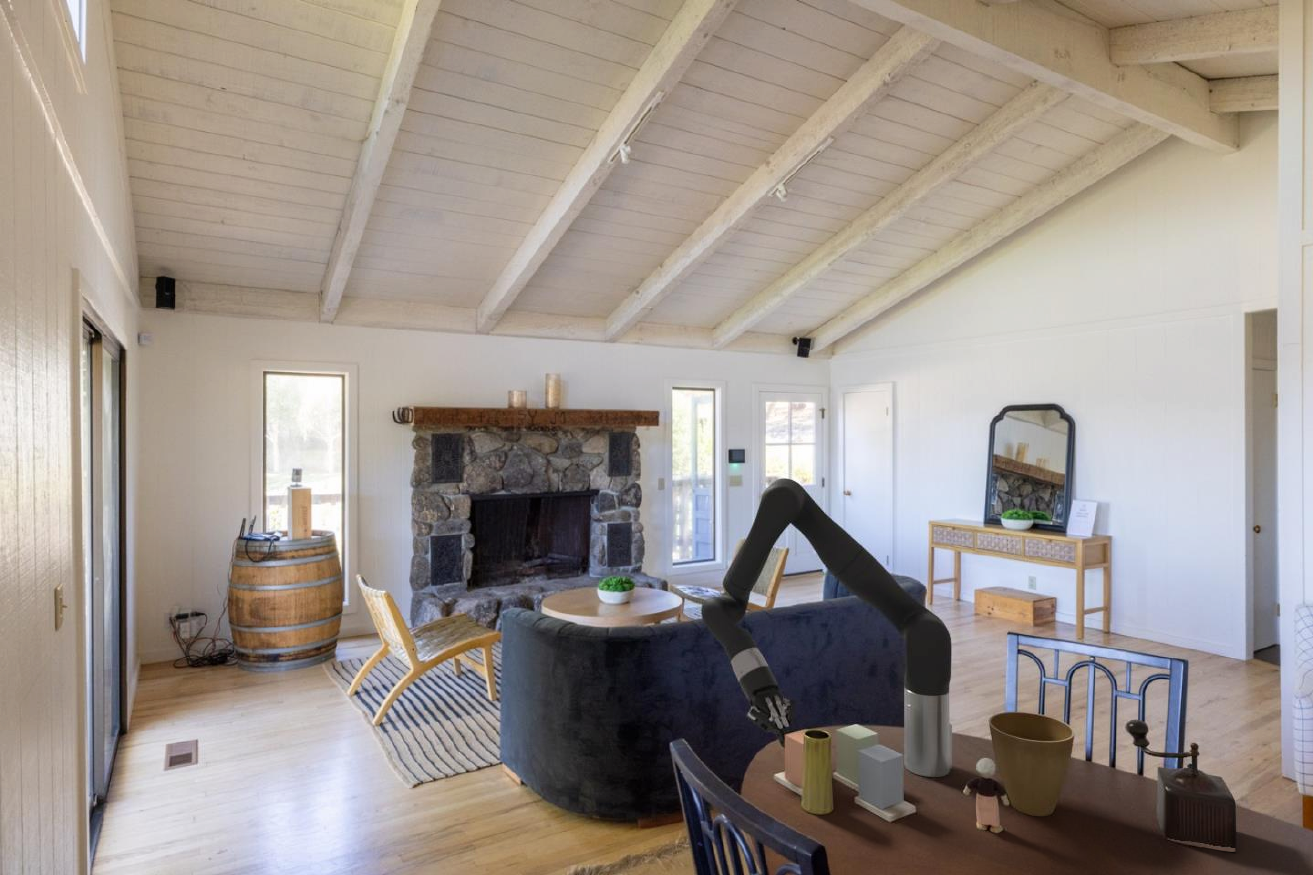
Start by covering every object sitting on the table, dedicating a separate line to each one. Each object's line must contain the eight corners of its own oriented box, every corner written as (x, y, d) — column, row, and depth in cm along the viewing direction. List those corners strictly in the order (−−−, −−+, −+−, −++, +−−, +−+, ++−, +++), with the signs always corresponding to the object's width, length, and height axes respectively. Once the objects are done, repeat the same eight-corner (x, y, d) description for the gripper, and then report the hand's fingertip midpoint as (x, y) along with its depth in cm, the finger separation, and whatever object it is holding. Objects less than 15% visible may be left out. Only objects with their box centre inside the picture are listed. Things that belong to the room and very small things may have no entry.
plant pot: (997, 782, 157) (997, 705, 157) (1079, 802, 148) (1078, 721, 148) (981, 812, 144) (981, 728, 144) (1069, 835, 136) (1069, 747, 136)
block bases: (836, 759, 168) (836, 755, 168) (929, 806, 147) (929, 801, 147) (773, 779, 158) (773, 774, 158) (863, 832, 137) (863, 826, 137)
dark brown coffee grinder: (1221, 824, 140) (1221, 727, 140) (1238, 855, 130) (1238, 750, 130) (1123, 807, 146) (1123, 714, 146) (1132, 834, 136) (1132, 735, 136)
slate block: (879, 788, 151) (879, 744, 151) (903, 801, 146) (903, 754, 146) (858, 796, 148) (858, 750, 148) (882, 809, 143) (881, 761, 143)
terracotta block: (806, 771, 159) (806, 728, 159) (826, 782, 154) (826, 738, 154) (784, 778, 156) (784, 734, 156) (804, 789, 151) (804, 744, 151)
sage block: (856, 765, 162) (856, 723, 162) (878, 776, 157) (878, 733, 157) (836, 772, 159) (836, 729, 159) (857, 783, 154) (857, 739, 154)
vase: (833, 816, 143) (833, 741, 143) (800, 813, 144) (800, 738, 144) (832, 801, 149) (832, 729, 149) (801, 798, 150) (801, 726, 150)
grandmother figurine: (1007, 825, 139) (1007, 757, 139) (1010, 835, 136) (1009, 765, 136) (962, 818, 142) (962, 751, 142) (964, 828, 138) (963, 759, 138)
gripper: (737, 669, 164) (774, 745, 153) (783, 660, 171) (822, 732, 160) (722, 687, 168) (757, 762, 158) (768, 677, 175) (805, 748, 165)
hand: (790, 747), depth 159 cm, fingers closed
